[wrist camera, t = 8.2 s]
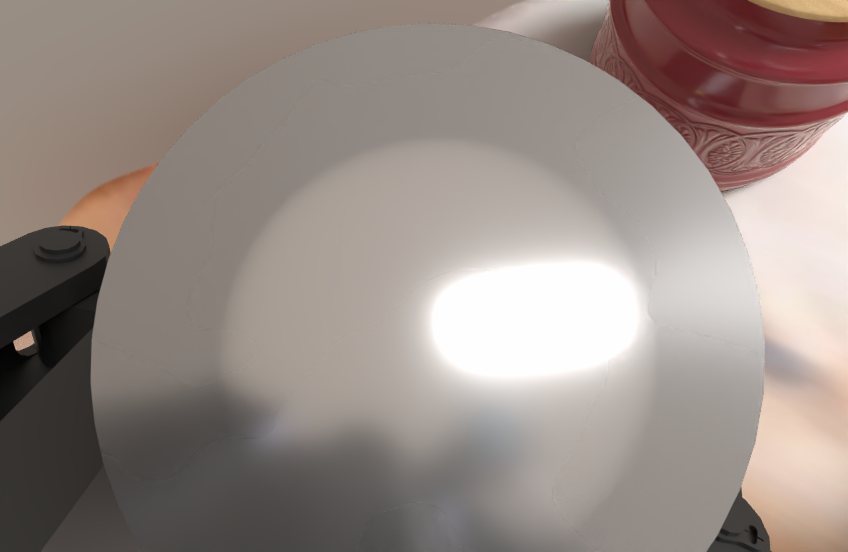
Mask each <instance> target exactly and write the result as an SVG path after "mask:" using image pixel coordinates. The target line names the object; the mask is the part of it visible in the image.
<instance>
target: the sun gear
mask: <svg viewBox="0 0 848 552" xmlns="http://www.w3.org/2000/svg"><path fill="white" fill-rule="evenodd" d="M764 361H765V340H764V332H763V323H762V314H761V305H760V297H759V293H758V289H757V285H756V281H755V277H754V273H753V269H752V265H751V262H750V258H749V254H748V251H747V248H746V246H745V243H744V241H743V238H742V236H741V233H740V231H739V229H738V226H737V224H736V221H735V219H734V216H733V214H732V211H731V209H730V207H729V206H728V204H727V202H726V200H725V199H724V197H723V195H722V193H721V192H720V190H719V188H718V186H717V185H716V183H715V181H714V179H713V178H712V176H711V174H710V172H709V171H708V169H707V168H706V167H705V166H704V164H703V163H702V162H701V160H700V159H699V158H698V156H697V155H696V154H695V152H694V151H693V150H692V149H691V147H690V146H689V145H688V143H687V142H686V141H685V139H684V138H683V137H682V136H681V135H680V134H679V133H678V132H677V131H676V130H675V129H674V128H673V127H672V126H671V125H670V124H669V123H668V122H667V121H666V120H665V119H664V118H663V117H662V116H661V115H660V114H659V112H658V111H657V110H656V109H655V108H654V107H653V106H651V105H650V104H649V103H648V102H646V101H645V100H644V99H642V98H641V97H640V96H639V95H637V94H636V93H635V92H633V91H632V90H631V89H630V88H628V87H627V86H626V85H624V84H623V83H622V82H621V81H619V80H618V79H616V78H614V77H613V76H611V75H609V74H608V73H606V72H604V71H602V70H601V69H599V68H597V67H596V66H594V65H592V64H591V63H589V62H587V61H586V60H584V59H582V58H579V57H577V56H575V55H573V54H570V53H568V52H566V51H563V50H561V49H559V48H556V47H554V46H552V45H549V44H547V43H544V42H541V41H538V40H534V39H531V38H527V37H524V36H521V35H517V34H514V33H511V32H507V31H501V30H495V29H489V28H483V27H477V26H471V25H456V24H455V25H454V24H436V23H426V24H411V25H396V26H388V27H383V28H377V29H372V30H366V31H361V32H355V33H351V34H348V35H345V36H341V37H338V38H335V39H332V40H329V41H325V42H322V43H318V44H316V45H313V46H311V47H309V48H306V49H304V50H302V51H299V52H297V53H295V54H293V55H290V56H288V57H286V58H283V59H281V60H280V61H278V62H276V63H274V64H273V65H271V66H269V67H267V68H266V69H264V70H262V71H260V72H259V73H257V74H255V75H253V76H252V77H250V78H249V79H247V80H245V81H244V82H243V83H241V84H240V85H239V86H237V87H236V88H235V89H233V90H232V91H231V92H229V93H228V94H226V95H225V96H224V97H222V98H221V99H220V100H218V101H217V102H216V103H215V104H214V105H213V106H212V107H210V108H209V109H208V110H207V111H206V112H205V113H204V114H203V115H202V116H201V117H200V118H198V119H197V120H196V121H195V122H194V123H193V124H192V125H191V126H190V127H189V128H188V129H187V130H186V131H185V132H184V134H183V135H182V136H181V137H180V138H179V139H178V140H177V142H176V143H175V144H174V145H173V146H172V147H171V149H170V150H169V151H168V152H167V153H166V154H165V155H164V157H163V158H162V160H161V161H160V162H159V164H158V165H157V167H156V168H155V170H154V171H153V173H152V174H151V175H150V177H149V178H148V180H147V181H146V183H145V184H144V186H143V187H142V189H141V190H140V192H139V194H138V196H137V198H136V200H135V202H134V203H133V205H132V207H131V209H130V211H129V213H128V215H127V217H126V218H125V220H124V222H123V224H122V227H121V229H120V232H119V234H118V237H117V239H116V242H115V244H114V247H113V249H112V252H111V254H110V257H109V260H108V263H107V267H106V270H105V274H104V278H103V281H102V285H101V289H100V293H99V296H98V300H97V307H96V314H95V321H94V328H93V334H92V346H91V392H92V402H93V412H94V423H95V428H96V432H97V437H98V441H99V446H100V450H101V455H102V459H103V464H104V467H105V470H106V473H107V476H108V478H109V481H110V484H111V487H112V489H113V492H114V495H115V498H116V500H117V503H118V506H119V508H120V510H121V512H122V514H123V516H124V518H125V520H126V522H127V524H128V526H129V528H130V529H131V531H132V533H133V535H134V537H135V539H136V541H137V543H138V545H139V547H140V548H141V550H142V551H143V552H706V551H707V550H708V548H709V547H710V546H711V544H712V543H713V541H714V540H715V538H716V537H717V535H718V533H719V531H720V529H721V527H722V525H723V523H724V521H725V519H726V517H727V515H728V513H729V511H730V509H731V507H732V505H733V503H734V501H735V499H736V497H737V495H738V493H739V491H740V488H741V485H742V482H743V479H744V475H745V472H746V469H747V466H748V463H749V460H750V457H751V454H752V451H753V448H754V445H755V441H756V435H757V429H758V423H759V417H760V412H761V406H762V400H763V394H764Z"/></svg>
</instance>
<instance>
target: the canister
mask: <svg viewBox="0 0 848 552" xmlns="http://www.w3.org/2000/svg"><path fill="white" fill-rule="evenodd" d="M589 63H591V64H592V65H594V66H596V67H597V68H599V69H601V70H602V71H604V72H606V73H608V74H609V75H611V76H613V77H614V78H616V79H618V80H619V81H621V82H622V83H623V84H624V85H626V86H627V87H628V88H630V89H631V90H632V91H633V92H635V93H636V94H637V95H639V96H640V97H641V98H642V99H644V100H645V101H646V102H648V103H649V104H650V105H651V106H653V107H654V108H655V109H656V110H657V111H658V112H659V114H660V115H661V116H662V117H663V118H664V119H665V120H666V121H667V122H668V123H669V124H670V125H671V126H672V127H673V128H674V129H675V130H676V131H677V132H678V133H679V134H680V135H681V136H682V137H683V138H684V139H685V141H686V142H687V143H688V145H689V146H690V147H691V149H692V150H693V151H694V152H695V154H696V155H697V156H698V158H699V159H700V160H701V162H702V163H703V164H704V166H705V167H706V168H707V169H708V171H709V172H710V174H711V176H712V178H713V179H714V181H715V183H716V185H717V186H718V188H719V190H720V191H726V190H731V189H736V188H739V187H742V186H746V185H748V184H751V183H754V182H757V181H760V180H762V179H765V178H767V177H769V176H771V175H773V174H775V173H777V172H779V171H781V170H782V169H784V168H786V167H787V166H789V165H790V164H791V163H793V162H794V161H795V160H796V159H798V158H799V157H801V156H802V155H803V154H804V153H806V152H807V151H808V150H809V149H810V148H811V147H812V146H813V145H814V144H815V143H816V142H817V141H818V140H819V138H820V137H821V136H822V134H823V133H824V132H825V131H827V130H828V129H829V128H830V127H832V126H833V125H834V124H835V123H836V122H838V121H839V120H840V119H841V118H843V117H844V116H845V115H846V114H848V0H609V3H608V7H607V10H606V14H605V17H604V21H603V24H602V27H601V29H600V30H599V32H598V34H597V37H596V39H595V42H594V45H593V47H592V51H591V55H590V59H589Z"/></svg>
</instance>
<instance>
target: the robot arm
mask: <svg viewBox="0 0 848 552" xmlns="http://www.w3.org/2000/svg"><path fill="white" fill-rule="evenodd" d="M109 257H110V248H109V244H108V242H107V239H106V237H104V236H103V235H102V234H100V233H99V232H97V231H95V230H92V229H88V228H85V227H79V226H57V227H49V228H44V229H41V230H38V231H35V232H32V233H29V234H27V235H24V236H22V237H20V238H18V239H16V240H14V241H11V242H9V243H7V244H5V245H2V246H0V552H143V551H142V550H141V548H140V547H139V545H138V543H137V541H136V539H135V537H134V535H133V533H132V531H131V529H130V528H129V526H128V524H127V522H126V520H125V518H124V516H123V514H122V512H121V510H120V508H119V506H118V503H117V500H116V498H115V495H114V492H113V489H112V487H111V484H110V481H109V478H108V476H107V473H106V470H105V467H104V464H103V459H102V455H101V450H100V446H99V441H98V437H97V432H96V428H95V423H94V412H93V402H92V392H91V346H92V334H93V328H94V321H95V314H96V307H97V300H98V296H99V293H100V289H101V285H102V281H103V278H104V274H105V270H106V267H107V263H108V260H109ZM29 331H31V332H32V336H33V339H34V342H35V343H34V344H33V345H31V346H30V347H27V348H25V349H22V350H20V351H17V350H15V347H14V343H13V341H14V340H16V339H18V338H19V337H21V336H23V335H24V334H26V333H27V332H29ZM706 552H771V550H770V541H769V536H768V534H767V531H766V529H765V527H764V525H763V523H762V520H761V518H760V517H759V516H758V515H757V513H756V512H755V511H754V510H753V509H752V507H751V506H750V505H749V504H748V502H747V501H746V500H745V499H743V498H742V491H741V488H740V491H739V493H738V495H737V497H736V499H735V501H734V503H733V505H732V507H731V509H730V511H729V513H728V515H727V517H726V519H725V521H724V523H723V525H722V527H721V529H720V531H719V533H718V535H717V537H716V538H715V540H714V541H713V543H712V544H711V546H710V547H709V548H708V550H707V551H706Z"/></svg>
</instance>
